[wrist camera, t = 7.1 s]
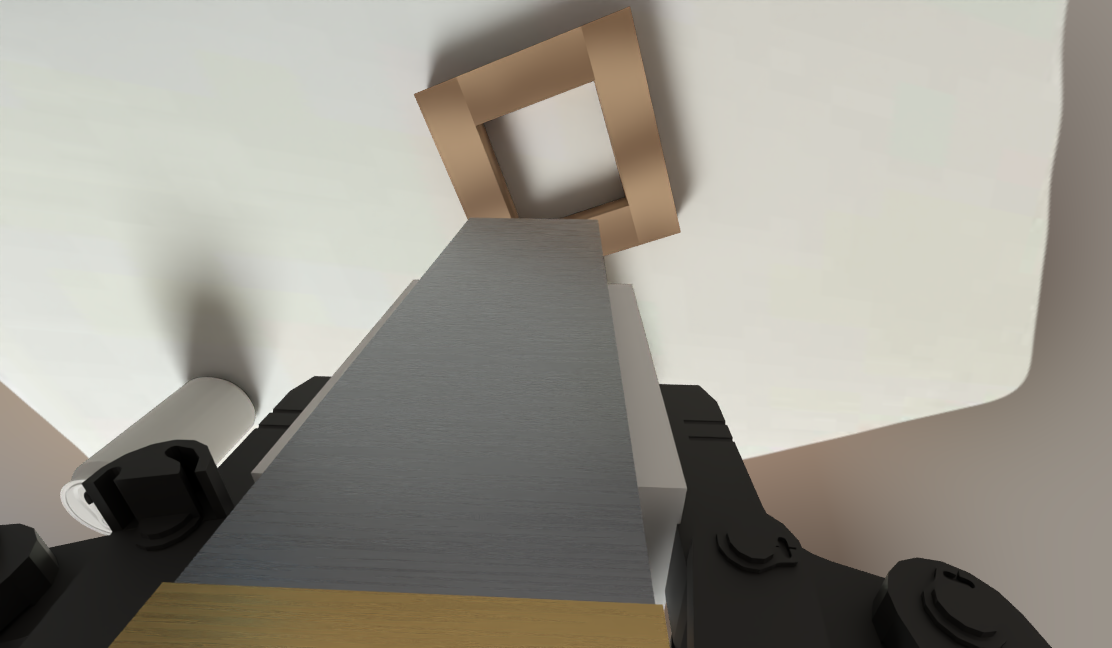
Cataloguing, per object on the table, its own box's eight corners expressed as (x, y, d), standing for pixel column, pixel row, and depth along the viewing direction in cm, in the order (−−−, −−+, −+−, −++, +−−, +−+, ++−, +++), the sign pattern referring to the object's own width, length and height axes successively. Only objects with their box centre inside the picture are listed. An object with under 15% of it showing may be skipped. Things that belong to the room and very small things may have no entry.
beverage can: (251, 374, 40) (133, 480, 29) (267, 432, 43) (166, 546, 32) (178, 369, 40) (34, 472, 29) (199, 426, 43) (76, 539, 32)
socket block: (426, 93, 29) (413, 94, 27) (625, 12, 27) (630, 6, 25) (502, 275, 35) (497, 288, 33) (673, 222, 32) (680, 232, 30)
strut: (477, 331, 16) (238, 920, 5) (468, 215, 14) (38, 732, 3) (593, 333, 16) (633, 949, 5) (599, 218, 14) (690, 769, 3)
